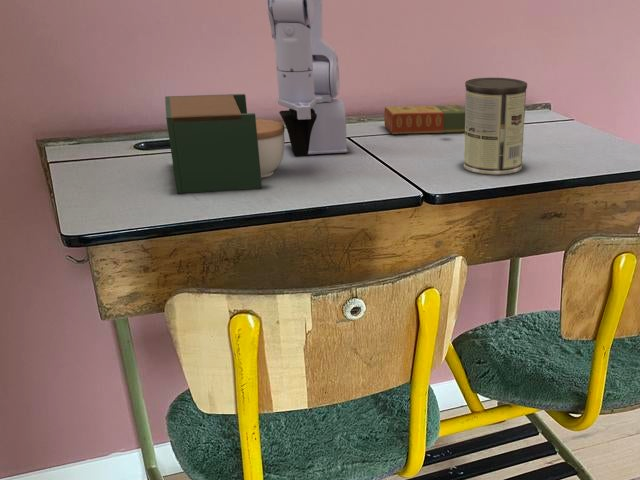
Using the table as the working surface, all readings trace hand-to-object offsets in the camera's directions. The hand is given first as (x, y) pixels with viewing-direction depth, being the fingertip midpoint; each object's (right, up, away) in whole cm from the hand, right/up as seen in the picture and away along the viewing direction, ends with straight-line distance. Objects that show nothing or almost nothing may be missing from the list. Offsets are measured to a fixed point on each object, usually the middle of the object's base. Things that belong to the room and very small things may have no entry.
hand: (300, 155), depth 136 cm
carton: (+20, +14, +31) cm, 40 cm away
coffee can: (+32, 0, +6) cm, 33 cm away
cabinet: (-13, -4, -2) cm, 14 cm away
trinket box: (-8, -3, 0) cm, 8 cm away
